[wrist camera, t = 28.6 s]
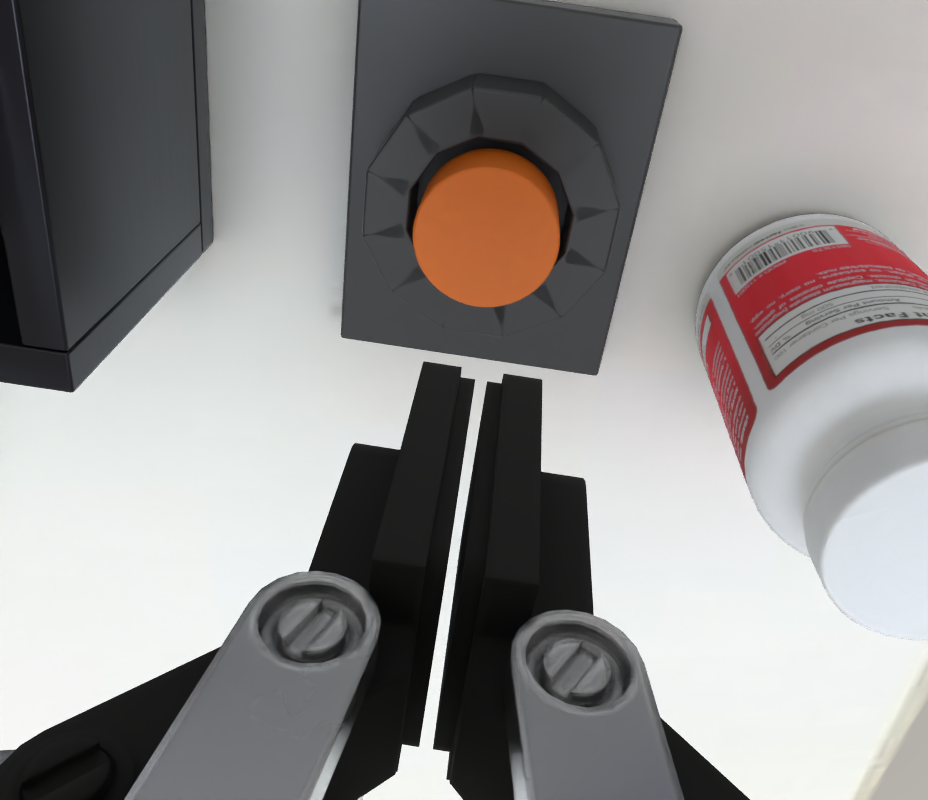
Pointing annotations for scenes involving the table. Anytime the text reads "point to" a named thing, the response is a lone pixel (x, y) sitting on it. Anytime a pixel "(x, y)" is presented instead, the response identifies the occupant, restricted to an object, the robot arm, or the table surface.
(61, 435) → the table surface
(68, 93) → the black storage bin
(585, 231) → the panel
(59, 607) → the table surface
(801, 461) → the pill bottle
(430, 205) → the button
